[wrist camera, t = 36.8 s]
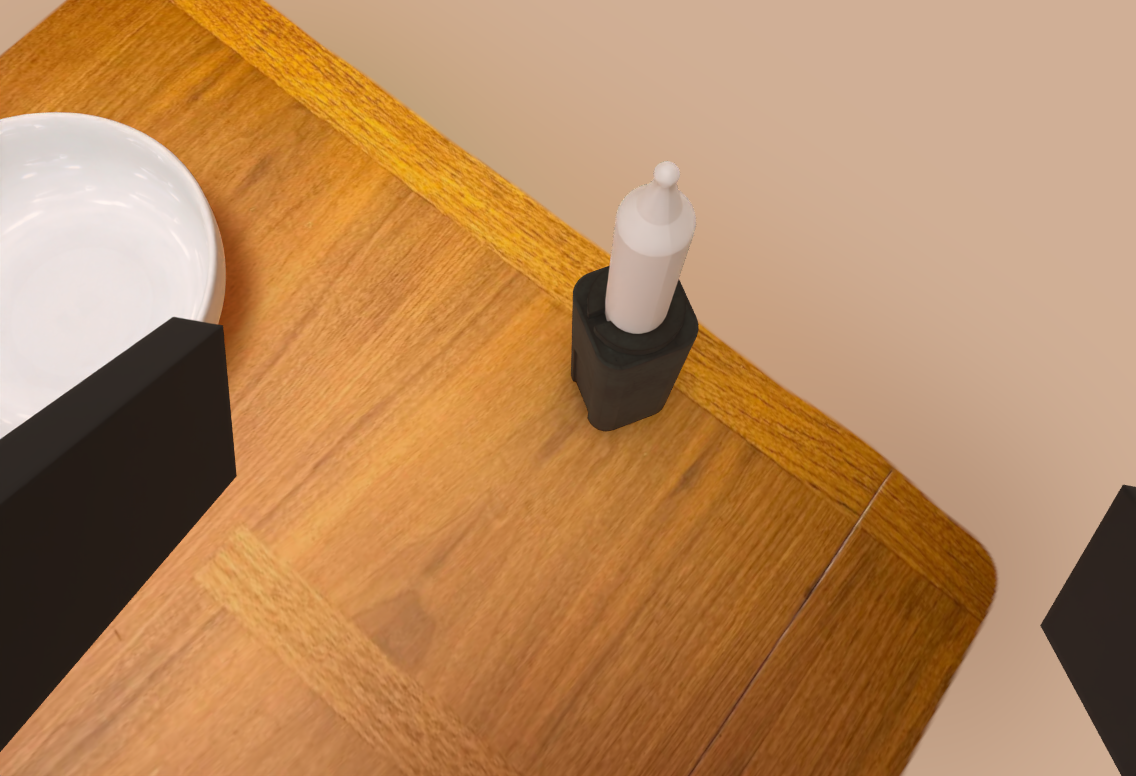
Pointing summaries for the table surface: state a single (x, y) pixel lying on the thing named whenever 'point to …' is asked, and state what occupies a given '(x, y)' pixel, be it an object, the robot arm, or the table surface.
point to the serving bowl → (93, 251)
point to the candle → (636, 308)
